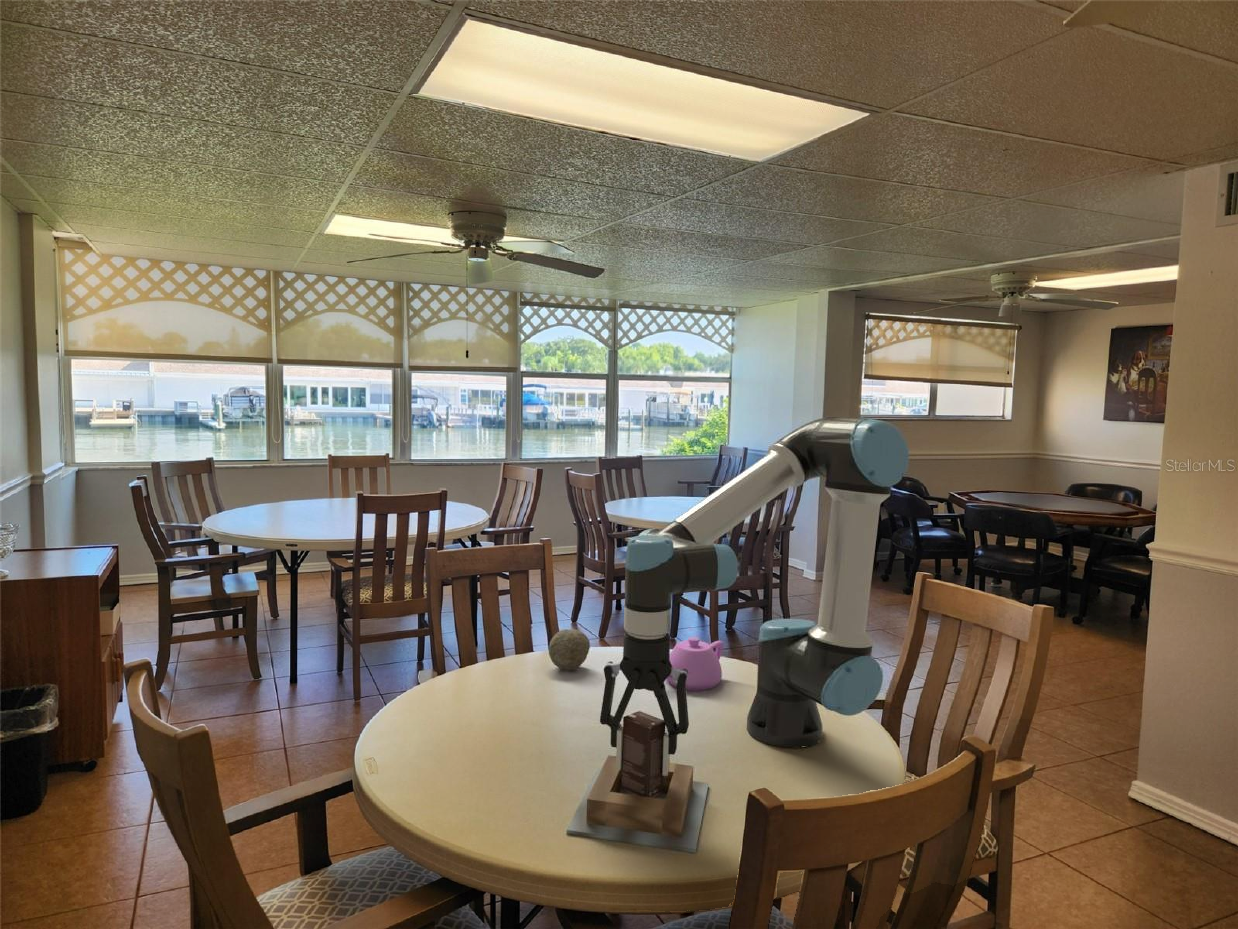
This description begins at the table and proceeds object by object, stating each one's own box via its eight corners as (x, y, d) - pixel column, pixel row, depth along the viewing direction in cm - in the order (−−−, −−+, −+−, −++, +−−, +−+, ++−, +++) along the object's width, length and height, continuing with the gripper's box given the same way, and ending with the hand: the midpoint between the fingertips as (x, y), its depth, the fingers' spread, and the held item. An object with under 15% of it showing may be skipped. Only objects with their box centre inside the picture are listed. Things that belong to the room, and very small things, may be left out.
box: (664, 791, 124) (667, 720, 123) (646, 801, 120) (649, 728, 119) (637, 778, 128) (639, 709, 127) (619, 787, 124) (621, 717, 123)
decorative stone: (554, 678, 181) (555, 637, 180) (544, 666, 189) (545, 627, 188) (594, 673, 185) (595, 633, 184) (582, 661, 193) (583, 623, 192)
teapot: (639, 680, 181) (640, 637, 180) (704, 666, 192) (705, 625, 191) (673, 700, 169) (675, 654, 168) (740, 684, 180) (742, 640, 179)
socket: (708, 786, 132) (709, 761, 132) (695, 853, 112) (696, 823, 112) (597, 771, 136) (598, 747, 136) (566, 833, 117) (567, 805, 116)
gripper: (711, 630, 123) (705, 765, 125) (592, 620, 127) (589, 751, 129) (706, 645, 116) (701, 788, 118) (581, 633, 120) (578, 771, 122)
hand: (642, 768), depth 124 cm, fingers closed on box, 7 cm apart
